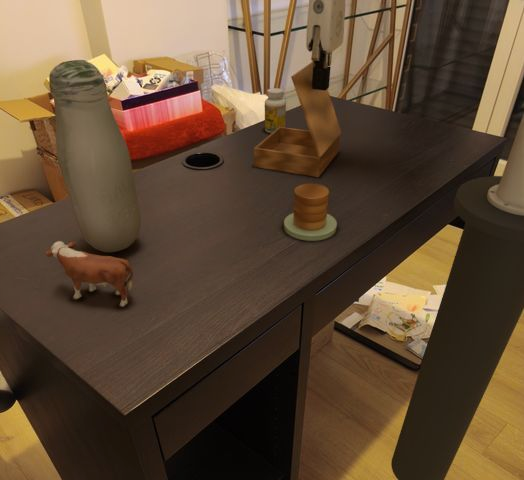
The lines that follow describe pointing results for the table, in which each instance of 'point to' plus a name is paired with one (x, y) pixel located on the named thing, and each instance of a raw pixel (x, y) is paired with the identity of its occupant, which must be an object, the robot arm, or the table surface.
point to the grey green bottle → (94, 157)
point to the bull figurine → (93, 269)
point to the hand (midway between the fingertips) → (320, 88)
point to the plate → (310, 234)
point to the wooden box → (293, 152)
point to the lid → (316, 110)
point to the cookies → (310, 206)
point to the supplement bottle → (274, 110)
